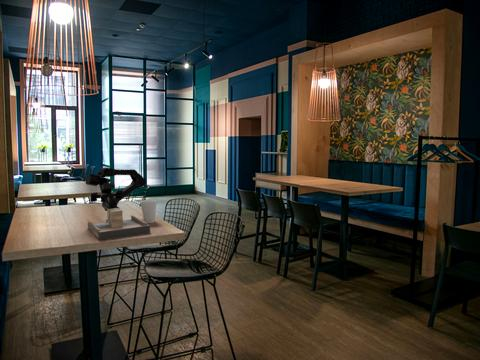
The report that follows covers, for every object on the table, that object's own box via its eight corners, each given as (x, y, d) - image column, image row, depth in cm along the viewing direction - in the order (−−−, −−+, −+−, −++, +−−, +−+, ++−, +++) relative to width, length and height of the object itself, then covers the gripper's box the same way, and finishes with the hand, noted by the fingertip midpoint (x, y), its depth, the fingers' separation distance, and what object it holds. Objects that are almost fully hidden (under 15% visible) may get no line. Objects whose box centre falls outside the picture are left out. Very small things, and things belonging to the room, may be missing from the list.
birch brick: (108, 224, 226) (107, 209, 225) (118, 223, 229) (117, 207, 228) (112, 227, 218) (111, 211, 217) (123, 226, 221) (122, 210, 220)
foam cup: (140, 221, 244) (139, 200, 242) (155, 219, 247) (155, 199, 246) (142, 224, 235) (141, 202, 233) (158, 222, 238) (157, 201, 237)
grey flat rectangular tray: (88, 228, 226) (87, 220, 226) (133, 222, 240) (132, 215, 239) (100, 240, 198) (99, 231, 198) (150, 232, 211) (149, 224, 211)
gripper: (89, 179, 230) (93, 200, 221) (121, 176, 239) (127, 196, 231) (88, 191, 238) (92, 212, 229) (119, 188, 247) (125, 208, 238)
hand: (109, 206), depth 232 cm, fingers closed
